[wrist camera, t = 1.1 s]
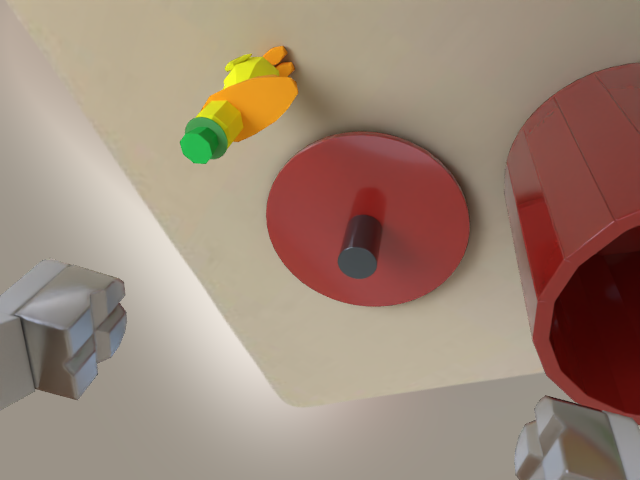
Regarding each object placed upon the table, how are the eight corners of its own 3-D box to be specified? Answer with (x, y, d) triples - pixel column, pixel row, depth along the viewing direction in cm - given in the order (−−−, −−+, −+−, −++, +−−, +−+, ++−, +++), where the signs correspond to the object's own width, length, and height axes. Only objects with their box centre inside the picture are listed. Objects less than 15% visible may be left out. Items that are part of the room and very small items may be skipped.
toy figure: (312, 10, 31) (253, 75, 21) (339, 66, 33) (296, 149, 23) (220, 60, 34) (132, 137, 24) (250, 109, 35) (177, 200, 26)
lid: (237, 231, 41) (214, 272, 37) (339, 83, 33) (325, 114, 29) (386, 324, 44) (380, 372, 40) (514, 208, 36) (524, 253, 32)
